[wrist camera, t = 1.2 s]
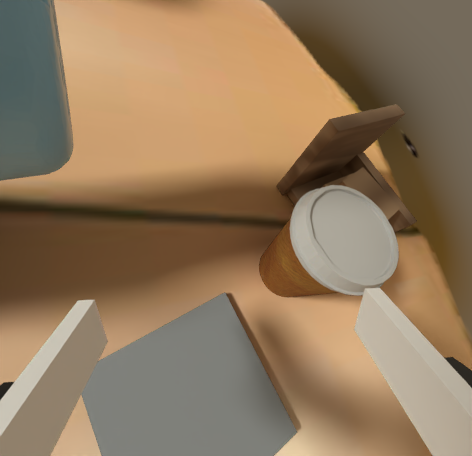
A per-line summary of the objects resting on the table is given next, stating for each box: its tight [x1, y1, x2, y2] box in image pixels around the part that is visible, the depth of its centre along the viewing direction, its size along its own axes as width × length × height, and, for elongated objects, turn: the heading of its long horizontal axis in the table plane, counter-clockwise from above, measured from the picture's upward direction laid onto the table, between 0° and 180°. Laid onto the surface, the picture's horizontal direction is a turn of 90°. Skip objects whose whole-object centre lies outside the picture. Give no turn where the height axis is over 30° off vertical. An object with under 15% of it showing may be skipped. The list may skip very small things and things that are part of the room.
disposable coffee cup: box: [259, 185, 399, 297], centre depth 25 cm, size 10×10×12 cm
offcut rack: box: [277, 104, 416, 233], centre depth 31 cm, size 14×13×12 cm
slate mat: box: [81, 293, 297, 456], centre depth 21 cm, size 14×14×1 cm
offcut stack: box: [321, 167, 400, 220], centre depth 33 cm, size 8×6×5 cm
